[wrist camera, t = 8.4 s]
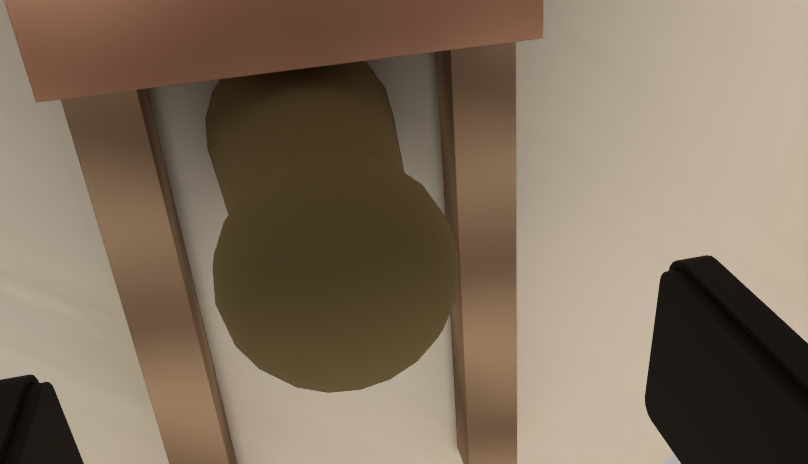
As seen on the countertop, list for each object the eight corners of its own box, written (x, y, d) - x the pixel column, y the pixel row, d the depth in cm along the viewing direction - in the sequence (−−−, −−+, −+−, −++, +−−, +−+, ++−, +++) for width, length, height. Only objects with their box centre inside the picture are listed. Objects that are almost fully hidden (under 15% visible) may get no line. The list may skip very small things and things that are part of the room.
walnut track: (36, -48, 20) (-5, -26, 17) (494, -93, 22) (544, -82, 19) (193, 503, 30) (189, 588, 27) (503, 439, 32) (536, 511, 29)
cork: (163, 134, 23) (116, 333, 14) (300, -6, 22) (352, 104, 13) (303, 248, 26) (345, 481, 16) (430, 128, 25) (555, 302, 15)
